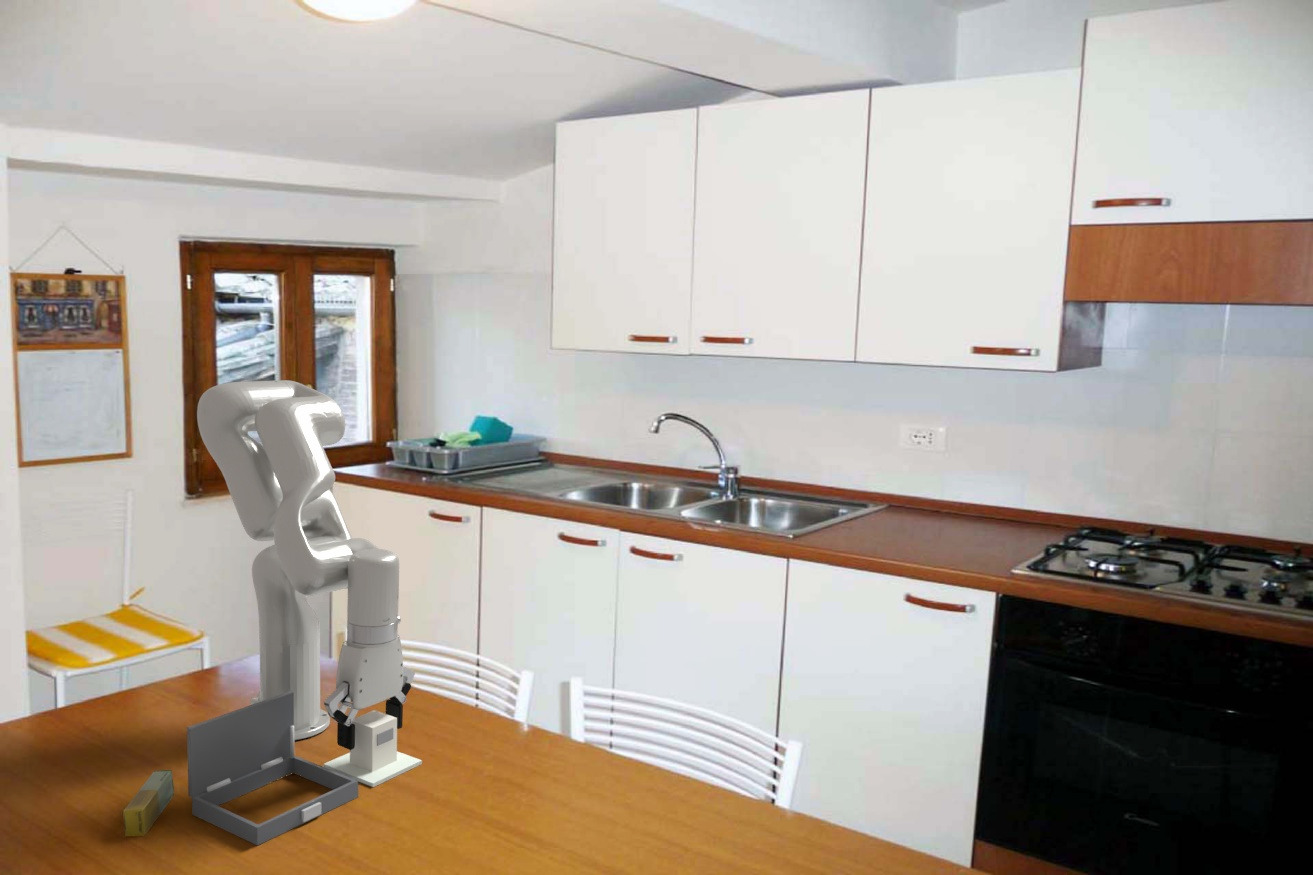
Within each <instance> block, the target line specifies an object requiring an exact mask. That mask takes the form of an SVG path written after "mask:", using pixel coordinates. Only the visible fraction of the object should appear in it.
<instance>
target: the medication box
mask: <svg viewBox="0 0 1313 875" xmlns="http://www.w3.org/2000/svg"><path fill="white" fill-rule="evenodd" d="M174 789H175V786H174V779H173V769H172V770H171V769H165V770H164V769H163V770H154V771H153V772H152V774H150V776H149V777H148V778H147V780H146V781H145V782H144V784H143V785H142V786H141V787H140V789H139V790H138V791H137V792H136V794H135V795H134V797H133V798H132V799H131V800H130V802H129V803H128V804H127V805H126V807H125V808H124V809H123V814H122V815H123V824H124V825H123V828H124V835H125V837H142V836H146V835H147V833H148V832H149V830H150V829H151V828H152V826H153V825H154V824H155V823H156V820H157V819H158V818H160V815H161V814H162V812H163V811H164V810H165V808H166V807H167V806H168V804H169V803H170V802H171V800H172V799H173V797H174V795H175V794H174V792H175V791H174ZM169 801H170V802H169ZM166 805H167V806H166Z"/></svg>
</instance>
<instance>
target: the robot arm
mask: <svg viewBox="0 0 1313 875" xmlns="http://www.w3.org/2000/svg"><path fill="white" fill-rule="evenodd" d="M196 418H197V426H198V430H199V431H198V432H199V433H200V437H201V439H202V440H201V441H202V442H203V444H204V446H205V448H206V450H207V451H208V453H209V454H210V456H211V457H212V459H213V460H214V462H215V463H216V465H217V467H218V468H219V470H220V471H221V474H222V476H223V478H224V480H225V484H226V486H227V489H228V491H229V494H230V497H231V500H232V502H233V504H234V507H235V509H236V512H237V515H238V517H239V520H240V523H241V525H242V527H243V529H244V532H246V534H247V535H248V536H249V537H250V538H251V539H252V540H254V541H258V542H271V541H274V544H272V545H269V546H267V547H266V548H264V549H262V550H261V551H259V553H258V554H256V556H255V558H254V559H253V562H252V564H251V577H252V582H253V587H254V592H255V596H256V602H257V603H256V604H257V610H258V611H257V612H258V628H259V629H258V631H259V634H258V635H259V691H258V692H257V694H256V697H252V698H251V699H250V702H249V703H250V704H249V705H252V704H255V703H258V702H261V701H264V700H267V699H269V698H272V697H275V696H278V695H281V694H284V693H287V692H289V691H291V692H294V741H297V740H302V739H306V738H310V737H313V736H316V735H318V734H320V733H322V732H324V731H325V730H326V729H327V728H328V727H329V725H330V723H331V719H333V721H334V722H337V736H336V737H337V738H336V740H337V742H336V744H337V745H338V746H340V747H341V748H344V749H346V750H349V751H350V750H352V749H354V747H355V724H352V721H353V720H354V718H356V716H357V714H358V713H359V711H361V710H363V709H364V710H365V709H366V708H369V707H371V706H374V705H376V704H379V703H382V702H384V701H385V714H387V715H390V716H393V717H396V718H397V730H401V729H402V728H403V720H404V719H403V718H404V713H403V712H404V705H403V704H405V703H406V702H407V696H408V693H409V691H410V690H411V688H412V683H413V680H414V678H415V675H416V671H415V670H414V669H411V668H407V667H404V659H403V658H404V657H403V656H404V655H403V647H402V642H401V638H400V635H399V632H398V631H399V630H398V629H399V628H398V627H399V624H400V623H401V622H402V621H401V620H402V619H401V617H400V616H399V601H400V600H399V599H400V598H399V593H400V592H399V591H400V589H399V586H400V560H399V557H398V555H397V554H396V553H395V552H393V551H392V550H387V549H383V548H379V547H378V546H376V545H375V544H374V543H372V542H371V541H369V540H367V539H365V538H361V537H354V538H352V535H351V534H350V531H349V529H348V525H347V524H346V521H345V518H344V515H343V513H342V511H341V508H340V506H339V504H338V502H337V499H336V496H335V495H334V493H333V492H332V490H331V488H332V487H333V485H334V484H335V482H336V473H335V471H334V468H333V467H332V465H331V462H330V459H329V458H328V455H327V453H326V450H325V448H324V447H325V446H326V447H327V446H332V445H336V444H337V443H339V442H340V441H341V440H342V439H343V437H344V434H345V432H346V431H345V430H346V419H345V416H344V412H343V410H342V408H341V407H340V405H339V404H338V403H337V402H336V401H335V400H334V399H333V398H332V397H330V396H329V395H327V394H325V393H323V392H320V391H319V390H316V389H314V388H312V387H310V386H307V385H305V384H303V383H300V382H297V381H294V380H289V379H288V380H285V379H283V380H281V379H279V380H259V381H258V380H257V381H256V380H254V381H251V380H250V381H249V380H248V381H233V382H227V383H221V384H217V385H214V386H212V387H210V388H208V389H207V390H206V391H204V392H203V393H202V395H201V396H200V397H199V401H198V403H197V410H196ZM249 432H257V435H258V437H259V439H260V442H261V443H260V442H259V441H257V440H256V439H254V438H253V437H251V436H250V435H249ZM345 589H347V613H346V614H347V615H346V616H347V617H346V621H347V622H346V640H345V641H343V642H342V645H341V648H340V651H339V657H338V662H337V669H336V683H335V690H334V691H333V692H332V693H331V694H330V695H328V697H326V699H324V701H323V706H324V707H325V709H326V710H324V709H322V708H321V630H320V629H321V627H320V626H321V624H320V620H319V618H318V615H317V614H316V613H315V611H314V610H313V609H312V607H311V606H310V605H309V603H308V601H307V600H308V598H309V597H314V596H317V595H322V594H327V593H331V592H336V591H341V590H345ZM348 708H349V711H348V712H347V710H348ZM346 712H347V714H345V713H346Z"/></svg>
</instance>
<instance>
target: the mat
mask: <svg viewBox="0 0 1313 875" xmlns="http://www.w3.org/2000/svg"><path fill="white" fill-rule="evenodd" d="M422 764H423V760H422V759H419V758H417V757H414V756H412V755H409V754H406V753H403V752H400V751H398V750H397V761H395V762H393V763H391V764H389V765H386V766H384V767H382V768H380V769H378V770H376V771H373V772H371V771H369V770H366V769H363V768H361V767H358V766H356V765H353V764H350V752H348V753H345V754H343V755H340V756H338V757H336V758H334V759H332V760H330V761H327V762H325V763H323V764H322V765H323V766H322V767H325V768H327V769H330V770H332V771H335V772H338V773H340V774H343V775H345V776H348V777H350V778H353V779H355V780H358V783H361V784H364V785H366V786H369V787H371V788H374V787H377V786H379V785H382V784H383V783H386V782H387V781H389V780H391V779H394V778H396V777H398V776H400V775H402V774H404V773H406V772H408V771H410V770H412V769H414V768H417V767H419V766H421V765H422Z"/></svg>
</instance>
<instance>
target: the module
mask: <svg viewBox="0 0 1313 875" xmlns="http://www.w3.org/2000/svg"><path fill="white" fill-rule="evenodd" d="M352 724H355V747H354V749H352V750H349V753H350V764H353V765H356V766H358V767H361V768H363V769H366V770H369V771H371V772H373V771H376V770H378V769H380V768H382V767H384V766H386V765H389V764H391V763H393V762H395V761H397V751H398V729H397V718H396V717H393V716H390V715H387V714H386V713H385V712H384V713H383V712H381V711H378V710H376V709H373V710H371V711H369V712H367V713H364V714H362V715H359V716H357V717H356V716H355V718H354V720H353V721H352Z"/></svg>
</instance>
